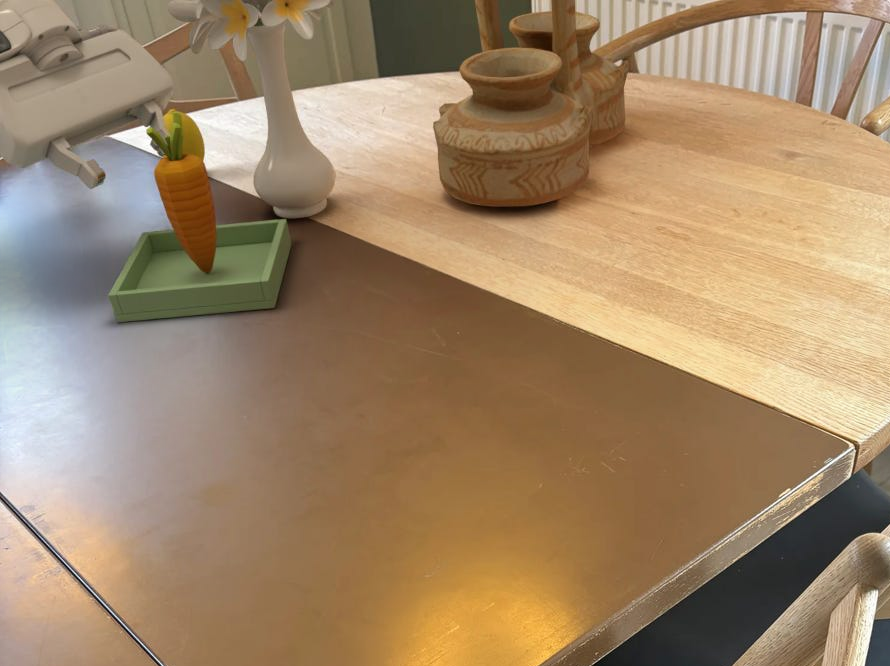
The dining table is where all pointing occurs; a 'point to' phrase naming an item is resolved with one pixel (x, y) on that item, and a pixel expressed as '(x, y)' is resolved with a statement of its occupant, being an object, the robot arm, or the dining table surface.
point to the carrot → (186, 196)
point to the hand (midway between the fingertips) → (135, 166)
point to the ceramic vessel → (529, 109)
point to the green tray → (203, 273)
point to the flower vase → (269, 93)
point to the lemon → (187, 134)
